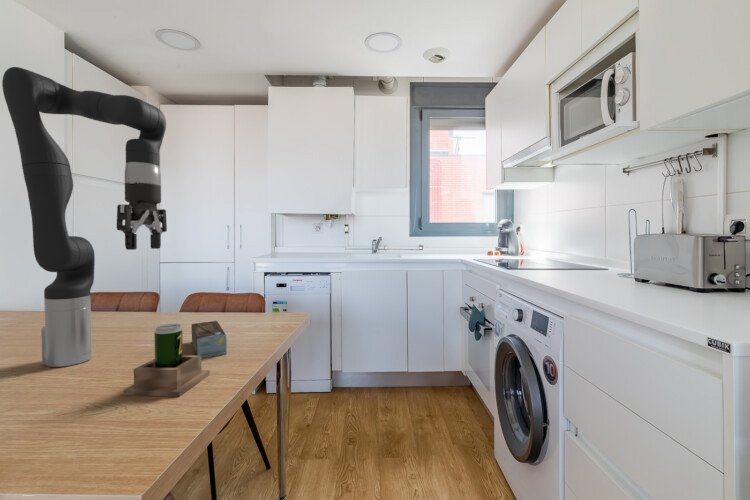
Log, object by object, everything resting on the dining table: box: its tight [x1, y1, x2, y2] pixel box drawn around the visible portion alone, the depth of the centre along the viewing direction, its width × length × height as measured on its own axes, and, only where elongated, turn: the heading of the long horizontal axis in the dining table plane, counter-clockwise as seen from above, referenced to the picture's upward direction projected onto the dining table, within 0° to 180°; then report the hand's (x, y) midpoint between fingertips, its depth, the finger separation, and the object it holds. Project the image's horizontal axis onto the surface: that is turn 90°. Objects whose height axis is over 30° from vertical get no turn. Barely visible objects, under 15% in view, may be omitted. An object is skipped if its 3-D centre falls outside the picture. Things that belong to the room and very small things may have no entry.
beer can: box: [153, 323, 184, 368], centre depth 79 cm, size 5×5×12 cm
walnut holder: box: [122, 354, 211, 398], centre depth 79 cm, size 12×12×5 cm
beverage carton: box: [191, 320, 228, 359], centre depth 106 cm, size 8×19×7 cm, turn 31°
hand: (143, 249), depth 88 cm, fingers open, 8 cm apart
